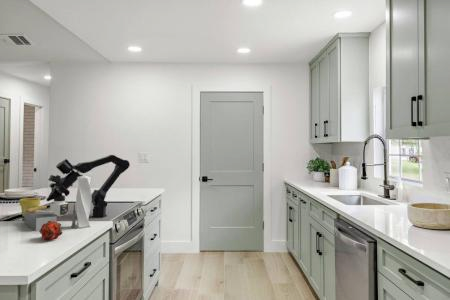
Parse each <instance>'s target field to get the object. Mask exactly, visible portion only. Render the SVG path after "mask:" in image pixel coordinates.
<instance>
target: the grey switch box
mask: <svg viewBox="0 0 450 300" xmlns="http://www.w3.org/2000/svg"><path fill="white" fill-rule="evenodd" d="M41 210H42V211H49V210H48V209H47V208H45V209H41ZM48 221H51V222H52V221H56V222H57V223H58V216H57V215H56V214H39V213H35V211H33V212H29V211H25V217H24V224H25V225H26V226H28V227H29V228H30V229H32V230H33V231H34V232H40V230H41V228H42V225H43V224H46V223H47V222H48Z"/></svg>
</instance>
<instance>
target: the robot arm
mask: <svg viewBox="0 0 450 300" xmlns="http://www.w3.org/2000/svg"><path fill="white" fill-rule="evenodd" d="M109 163H112V164H114V165H115V166H114V169H113V171H112V172H111V173H110V175H109V176H108V177H107V179H106V180H105V181H104V182H103V184H102V185H101V187H100V188H99V189H94V190H93V191H92V192H91V196H92V201H91V204H92V205H93V208H92V216H91V218H104V217H107V216H108V214H106V211H107V206H108V203H107V201H105V200H106V197H107V193H108V192H109V190H110V189H111V188H112V186H113V185H114V183H116V181H117V180H118V178H119V177H120V176H121V174H123V173H124V172H126V171H127V170H128V169H129V168H130V166H131V165H130V161H129V160H128V159H122V158H120V157H119V156H116V154H115V155H114V154H110V155H107V156H104V157H101V158H97V159H95V160H90V161H84V162H78V163H77V164H75V165H74V164H72V163H71V162H70V161H69V160H68V159H67V158H65V159H63V160H62V161H60V162H59V163H57V164H56V166H55V168H57V170H58V171H59V172H60V173H61V174H63V175H65V174H66V176H64V177H61V176H60V175H58V174H56V175H53V174H50V176H49V178H48V181H49V182H51V183H50V184H49V185H48V186H49V187H50V189H51V192H50V193H49V195H48V196H47V197H46V199H45V200H46V202H51V201H54V199H55V198H58V197H60V196H63V194H64V196H65V197H68V196H69V195H70V191H71V190H69V188H70V187H73V184H74V183H76V181H78V179H77V177H79V176H83V175H84V174H85V173H89V172H90V171H91V170H93V169H95V168H97V167H100V166H103V165H106V164H109ZM79 178H80V177H79Z"/></svg>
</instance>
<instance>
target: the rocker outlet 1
mask: <svg viewBox="0 0 450 300" xmlns="http://www.w3.org/2000/svg"><path fill="white" fill-rule="evenodd" d="M44 209H48V208H47V205H38V207H35V208H30V209H28V211H29V212H33V211H35V210H44Z"/></svg>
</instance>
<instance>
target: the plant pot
mask: <svg viewBox="0 0 450 300" xmlns="http://www.w3.org/2000/svg"><path fill="white" fill-rule="evenodd" d="M40 204H41V199H40V198H37V197H36V198H35V197H34V198H33V197H31V198H21V199H19V206H20V208H21V212H22V213H21V215H22V217H24V218H25V211H28V209H30V208H35V207H39V206H41V205H40Z"/></svg>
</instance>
